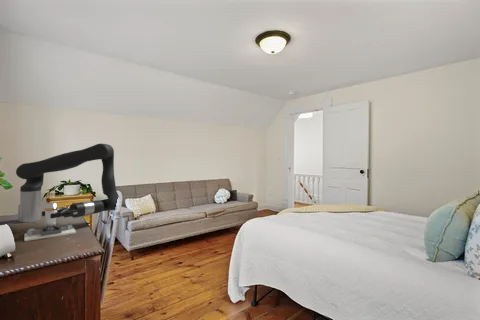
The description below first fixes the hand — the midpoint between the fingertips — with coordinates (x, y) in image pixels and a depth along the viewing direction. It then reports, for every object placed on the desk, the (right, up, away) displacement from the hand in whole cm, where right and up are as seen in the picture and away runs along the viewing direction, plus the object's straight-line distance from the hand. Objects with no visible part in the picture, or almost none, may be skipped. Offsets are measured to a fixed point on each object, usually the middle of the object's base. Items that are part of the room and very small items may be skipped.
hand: (46, 215), depth 116 cm
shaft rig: (+1, -10, +2) cm, 10 cm away
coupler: (+1, -9, +2) cm, 9 cm away
